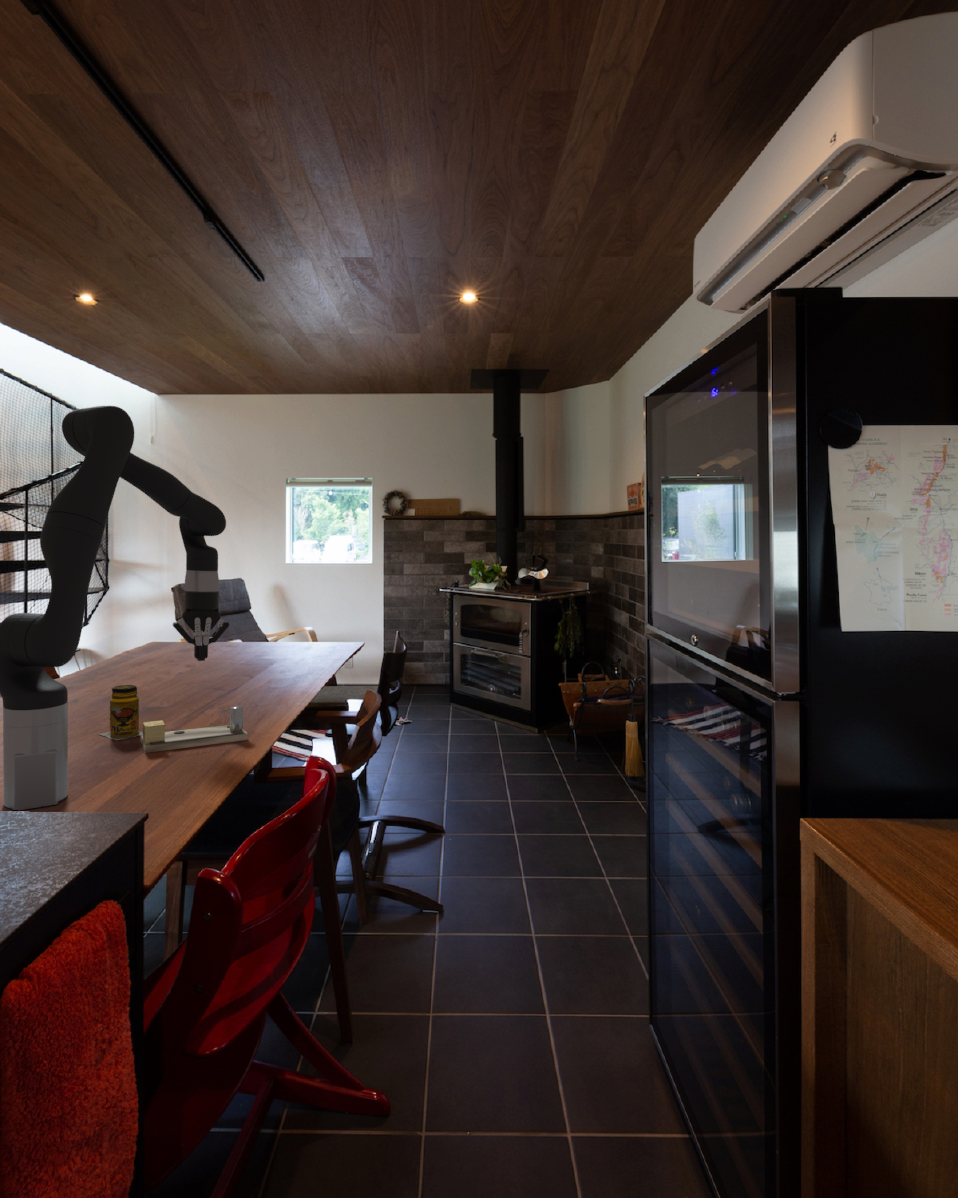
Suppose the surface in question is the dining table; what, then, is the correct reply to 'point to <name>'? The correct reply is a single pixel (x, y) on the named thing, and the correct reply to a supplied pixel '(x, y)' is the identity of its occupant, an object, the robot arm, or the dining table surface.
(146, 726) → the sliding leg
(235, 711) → the silver cylinder with leg
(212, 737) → the board
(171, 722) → the dining table surface
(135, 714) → the condiment
